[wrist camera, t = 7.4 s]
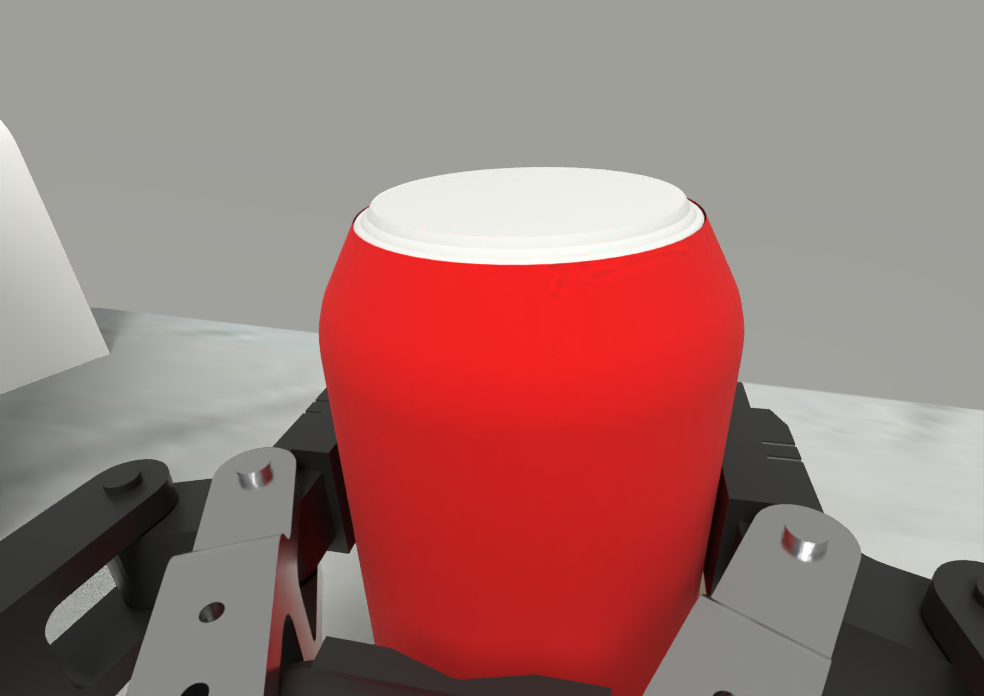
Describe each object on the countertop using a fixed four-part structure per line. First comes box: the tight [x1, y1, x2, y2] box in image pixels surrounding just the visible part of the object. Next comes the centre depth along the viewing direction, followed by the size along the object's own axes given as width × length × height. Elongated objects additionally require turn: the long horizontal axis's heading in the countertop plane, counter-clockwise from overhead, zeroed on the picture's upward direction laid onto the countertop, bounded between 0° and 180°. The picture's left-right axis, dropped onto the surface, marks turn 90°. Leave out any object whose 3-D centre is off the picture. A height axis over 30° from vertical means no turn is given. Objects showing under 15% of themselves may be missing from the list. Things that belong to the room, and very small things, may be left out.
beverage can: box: [319, 167, 744, 696], centre depth 11 cm, size 6×6×12 cm
